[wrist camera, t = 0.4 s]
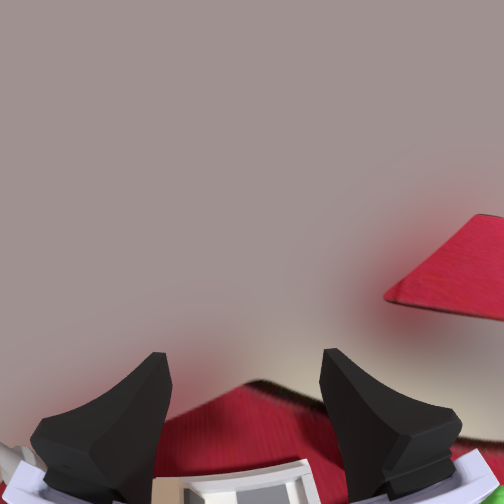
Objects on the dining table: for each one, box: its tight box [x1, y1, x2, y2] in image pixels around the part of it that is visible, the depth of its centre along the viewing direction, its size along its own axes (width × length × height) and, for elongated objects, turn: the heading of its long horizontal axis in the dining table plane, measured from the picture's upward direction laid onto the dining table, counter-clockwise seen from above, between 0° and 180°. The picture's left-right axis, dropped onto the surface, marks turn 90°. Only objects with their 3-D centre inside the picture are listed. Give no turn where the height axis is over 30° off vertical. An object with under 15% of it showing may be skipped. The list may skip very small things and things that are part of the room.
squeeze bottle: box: [0, 442, 48, 486], centre depth 13 cm, size 8×8×18 cm
